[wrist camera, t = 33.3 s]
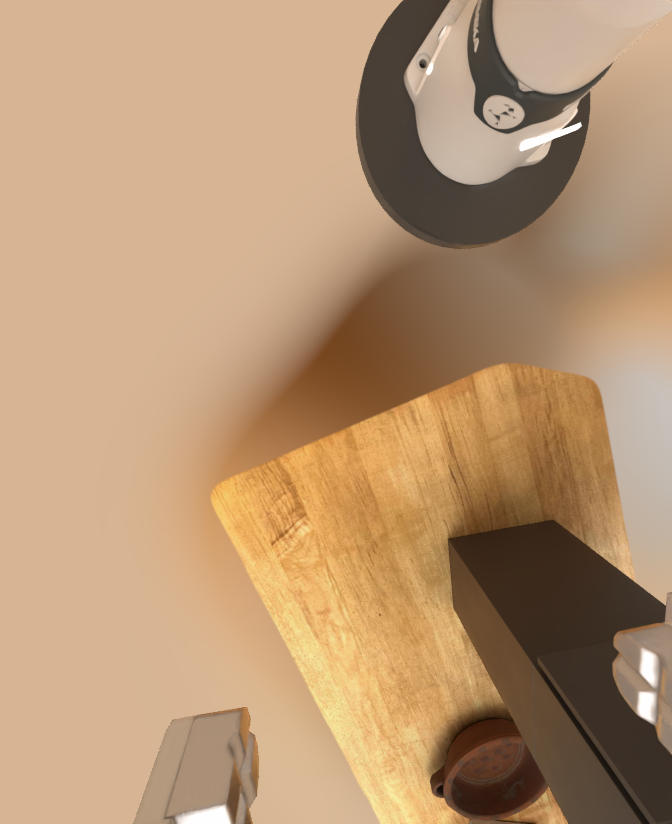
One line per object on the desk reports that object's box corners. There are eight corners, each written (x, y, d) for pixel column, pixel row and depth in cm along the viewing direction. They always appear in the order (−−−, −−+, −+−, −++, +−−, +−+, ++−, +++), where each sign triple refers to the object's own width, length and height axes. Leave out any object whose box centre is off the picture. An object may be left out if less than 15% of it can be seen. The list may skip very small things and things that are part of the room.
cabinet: (447, 538, 52) (675, 874, 20) (553, 519, 53) (937, 813, 21) (453, 607, 55) (662, 1000, 23) (553, 588, 56) (892, 942, 24)
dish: (408, 739, 60) (417, 775, 55) (529, 685, 60) (548, 716, 55) (444, 804, 64) (455, 843, 59) (557, 754, 64) (578, 789, 59)
